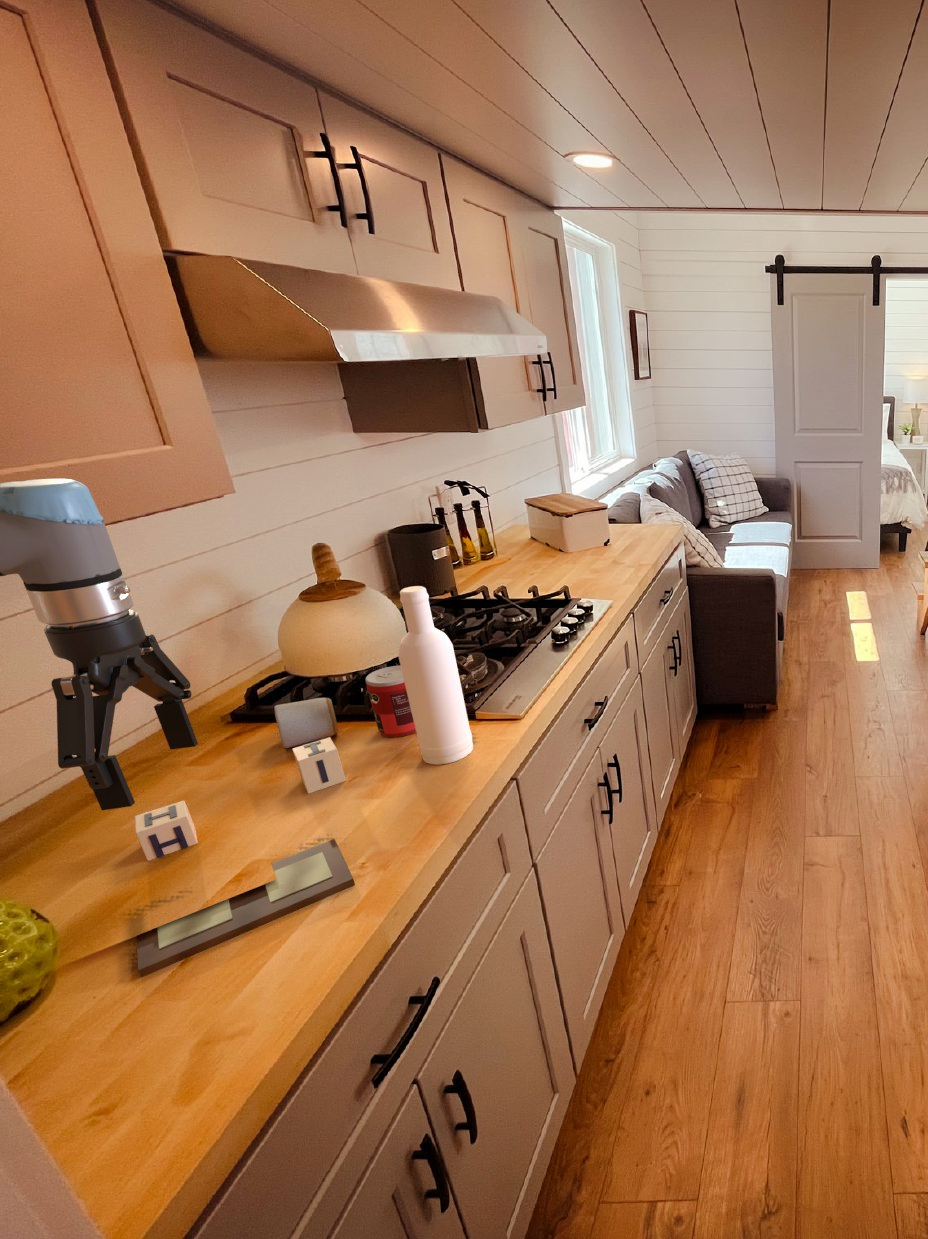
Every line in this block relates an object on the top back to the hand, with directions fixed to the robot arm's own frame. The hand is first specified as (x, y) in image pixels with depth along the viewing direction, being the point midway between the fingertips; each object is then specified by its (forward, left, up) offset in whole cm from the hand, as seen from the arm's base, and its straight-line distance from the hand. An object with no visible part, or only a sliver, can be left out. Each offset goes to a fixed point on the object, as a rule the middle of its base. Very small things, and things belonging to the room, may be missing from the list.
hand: (154, 774), depth 85 cm
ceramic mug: (+18, +30, -15) cm, 38 cm away
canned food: (+31, +22, -15) cm, 41 cm away
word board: (+5, -13, -15) cm, 20 cm away
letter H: (-1, +6, -15) cm, 16 cm away
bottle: (+34, +7, -15) cm, 38 cm away
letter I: (+17, +12, -15) cm, 25 cm away
